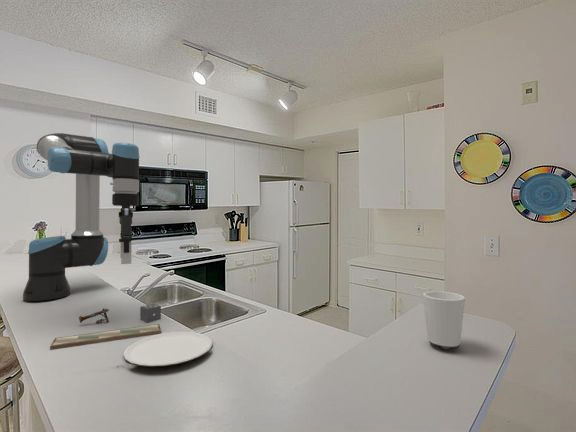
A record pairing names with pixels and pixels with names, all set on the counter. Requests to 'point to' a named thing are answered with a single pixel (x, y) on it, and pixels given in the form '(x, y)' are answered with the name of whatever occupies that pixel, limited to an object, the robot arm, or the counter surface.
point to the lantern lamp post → (96, 315)
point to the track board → (105, 336)
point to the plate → (168, 349)
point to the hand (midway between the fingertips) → (125, 260)
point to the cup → (444, 318)
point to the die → (150, 313)
